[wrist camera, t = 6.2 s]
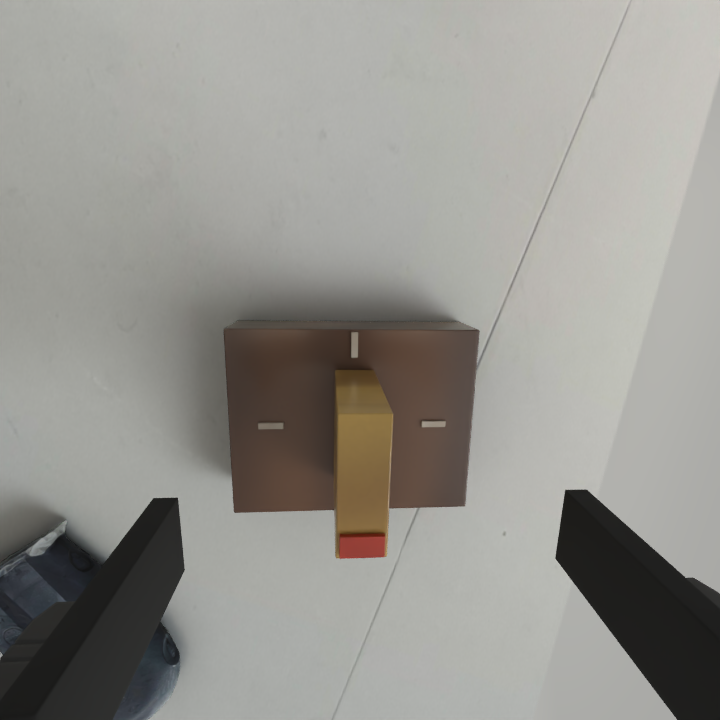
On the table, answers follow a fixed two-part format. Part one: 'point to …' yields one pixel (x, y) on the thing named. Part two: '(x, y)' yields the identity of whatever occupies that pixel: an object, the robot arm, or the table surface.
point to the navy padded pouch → (66, 583)
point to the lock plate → (316, 408)
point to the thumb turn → (361, 465)
